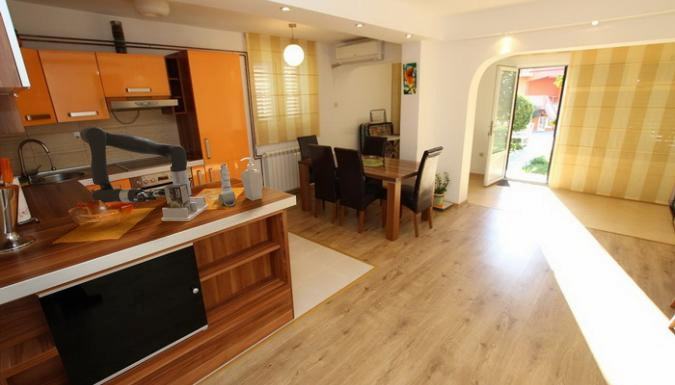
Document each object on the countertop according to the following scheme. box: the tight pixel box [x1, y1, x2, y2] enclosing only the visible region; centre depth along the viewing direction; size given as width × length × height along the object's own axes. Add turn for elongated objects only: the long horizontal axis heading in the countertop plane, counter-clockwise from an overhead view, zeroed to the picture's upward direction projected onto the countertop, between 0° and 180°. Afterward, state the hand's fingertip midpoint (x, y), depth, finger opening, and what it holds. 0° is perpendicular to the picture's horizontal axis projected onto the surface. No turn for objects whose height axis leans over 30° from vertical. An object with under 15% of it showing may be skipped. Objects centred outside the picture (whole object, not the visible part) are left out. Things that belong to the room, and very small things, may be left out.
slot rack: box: [160, 196, 209, 222], centre depth 169 cm, size 21×15×6 cm
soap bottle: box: [239, 156, 264, 201], centre depth 190 cm, size 12×10×26 cm
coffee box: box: [163, 183, 192, 214], centre depth 163 cm, size 9×6×16 cm
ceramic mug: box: [218, 189, 237, 207], centre depth 183 cm, size 11×8×8 cm
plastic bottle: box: [218, 163, 233, 193], centre depth 200 cm, size 6×7×20 cm
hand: (161, 195), depth 163 cm, fingers open, 8 cm apart
